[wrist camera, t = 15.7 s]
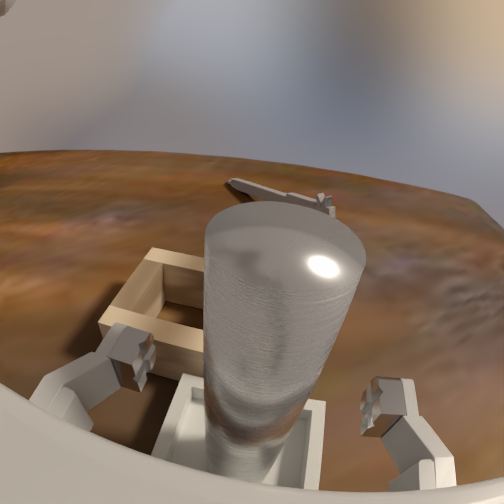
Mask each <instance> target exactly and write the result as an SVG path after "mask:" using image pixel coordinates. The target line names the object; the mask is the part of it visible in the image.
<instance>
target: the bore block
mask: <svg viewBox="0 0 504 504" xmlns="http://www.w3.org/2000/svg"><path fill="white" fill-rule="evenodd" d="M166 301H169V302H173V303H177V304H181V305H185V306H190V307H194V308H198V309H203V304H204V258H202V257H197V256H192V255H187V254H182V253H177V252H172V251H167V250H162V249H157V248H153V247H152V249H151V250H150V251H149V252H148V254H147V255H146V256H145V258H144V259H143V260H142V262H141V263H140V264H139V266H138V267H137V268H136V270H135V271H134V272H133V274H132V275H131V276H130V278H129V279H128V280H127V282H126V283H125V285H124V286H123V287H122V289H121V290H120V291H119V293H118V294H117V296H116V297H115V298H114V300H113V301H112V303H111V304H110V305H109V307H108V308H107V310H106V311H105V312H104V314H103V315H102V317H101V318H100V320H99V321H98V324H99V328H100V331H101V334H102V337H103V339H104V337H105V336H106V334H107V333H108V331H109V330H110V328H111V326H112V325H113V324H114V323H116V322H117V323H121V324H124V325H127V326H130V327H133V328H136V329H140V330H143V331H146V332H149V333H153V336H154V341H153V343H152V344H153V345H154V346H155V347H156V359H155V363H154V365H153V368H152V370H150V371H149V372H150V373H153V374H156V375H160V376H163V377H166V378H170V379H173V380H177V381H180V380H181V377H182V374H183V373H185V374H189V375H193V376H197V377H201V378H204V371H203V330H201V329H196V328H192V327H188V326H184V325H180V324H176V323H172V322H168V321H165V320H161V319H157V316H158V314H159V312H160V311H161V309H162V307H163V305H164V303H165V302H166Z"/></svg>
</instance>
